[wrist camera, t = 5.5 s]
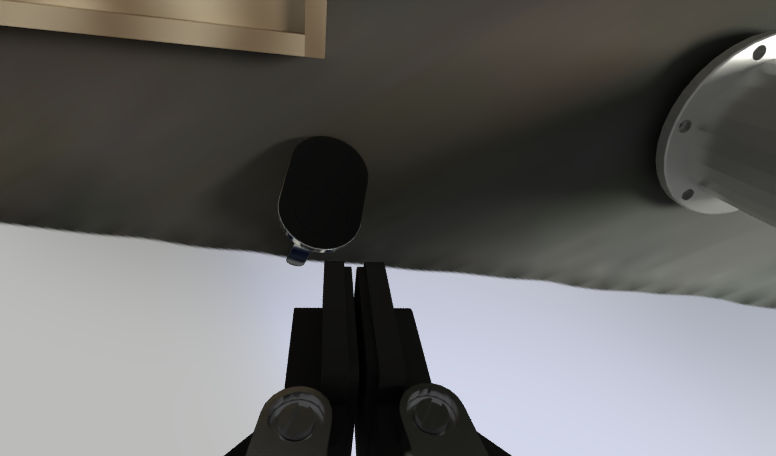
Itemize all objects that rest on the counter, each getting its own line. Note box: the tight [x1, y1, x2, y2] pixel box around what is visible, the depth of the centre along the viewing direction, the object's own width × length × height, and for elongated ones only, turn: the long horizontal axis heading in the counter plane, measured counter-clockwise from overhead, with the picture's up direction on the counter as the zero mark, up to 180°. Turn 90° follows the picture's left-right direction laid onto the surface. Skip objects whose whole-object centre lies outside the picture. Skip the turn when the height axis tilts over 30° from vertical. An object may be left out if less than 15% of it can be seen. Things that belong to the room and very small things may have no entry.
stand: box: [277, 136, 368, 266], centre depth 27 cm, size 8×5×8 cm
